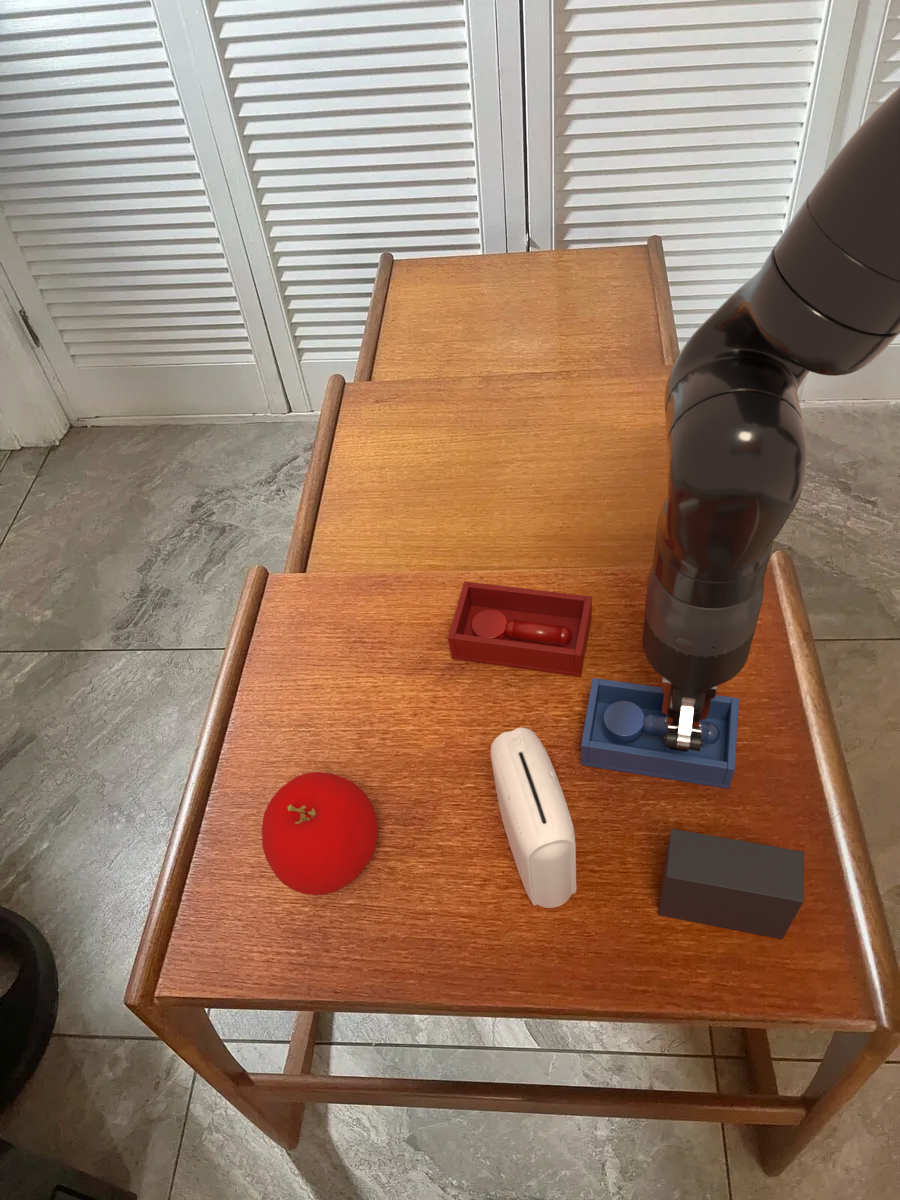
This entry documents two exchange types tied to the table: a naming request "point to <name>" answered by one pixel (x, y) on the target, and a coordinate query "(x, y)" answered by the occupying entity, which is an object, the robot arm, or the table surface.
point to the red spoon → (517, 629)
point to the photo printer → (535, 817)
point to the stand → (731, 883)
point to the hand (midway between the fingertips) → (679, 732)
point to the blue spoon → (643, 724)
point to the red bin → (523, 608)
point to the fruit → (319, 833)
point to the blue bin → (659, 738)
